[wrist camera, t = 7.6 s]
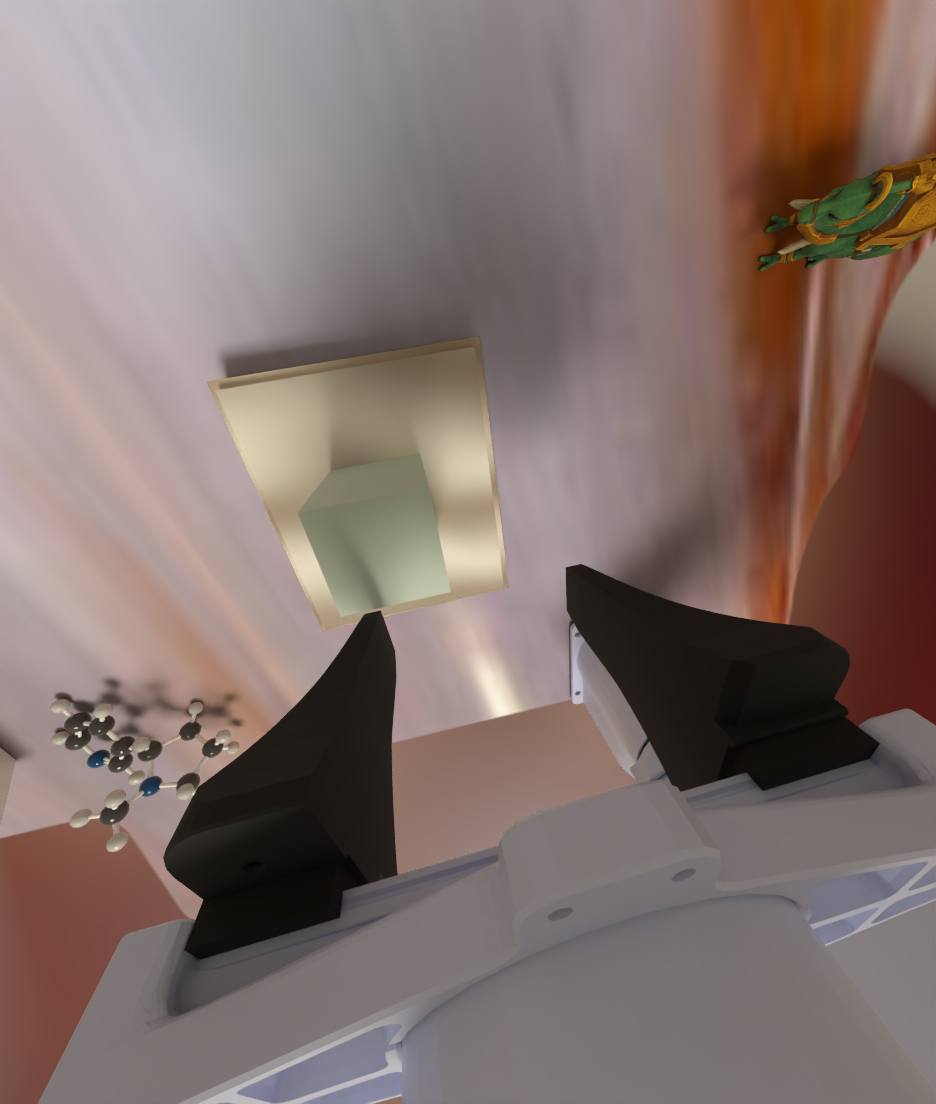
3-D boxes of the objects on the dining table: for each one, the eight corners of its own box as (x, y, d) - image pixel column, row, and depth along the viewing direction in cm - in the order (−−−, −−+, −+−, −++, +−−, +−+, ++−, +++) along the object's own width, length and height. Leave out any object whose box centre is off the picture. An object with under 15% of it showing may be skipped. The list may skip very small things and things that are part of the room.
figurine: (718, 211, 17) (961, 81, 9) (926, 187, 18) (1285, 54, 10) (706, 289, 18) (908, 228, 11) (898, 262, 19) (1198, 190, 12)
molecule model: (76, 653, 23) (-87, 786, 17) (231, 700, 22) (111, 859, 16) (129, 692, 27) (12, 809, 22) (261, 733, 26) (175, 868, 21)
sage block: (437, 532, 19) (450, 591, 14) (357, 549, 18) (340, 617, 13) (420, 453, 17) (428, 486, 11) (330, 470, 16) (297, 512, 11)
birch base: (500, 572, 24) (510, 591, 22) (328, 611, 23) (320, 636, 20) (471, 341, 17) (481, 334, 15) (227, 381, 16) (200, 381, 14)
